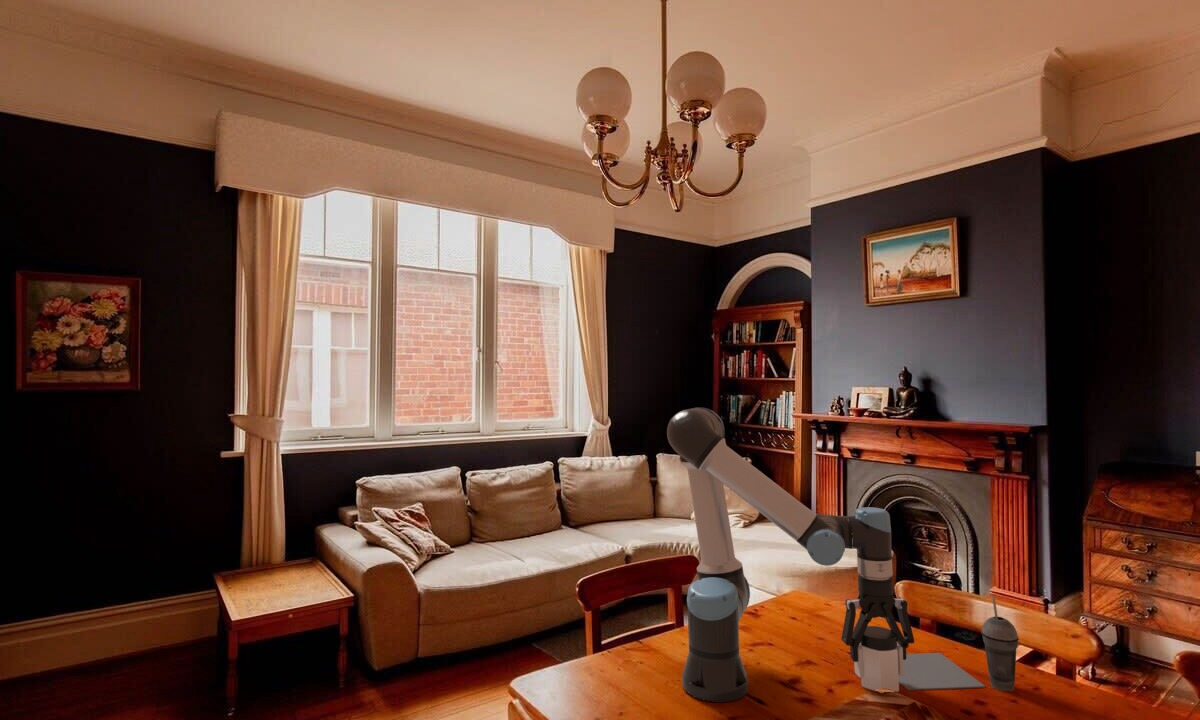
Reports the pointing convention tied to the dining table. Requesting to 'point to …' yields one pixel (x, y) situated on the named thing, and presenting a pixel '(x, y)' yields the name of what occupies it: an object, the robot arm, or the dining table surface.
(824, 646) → the dining table surface
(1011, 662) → the beverage cup
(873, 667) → the jar
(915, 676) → the mat
